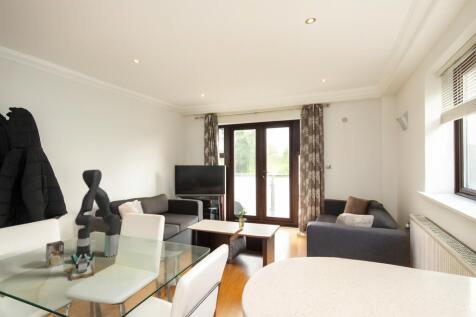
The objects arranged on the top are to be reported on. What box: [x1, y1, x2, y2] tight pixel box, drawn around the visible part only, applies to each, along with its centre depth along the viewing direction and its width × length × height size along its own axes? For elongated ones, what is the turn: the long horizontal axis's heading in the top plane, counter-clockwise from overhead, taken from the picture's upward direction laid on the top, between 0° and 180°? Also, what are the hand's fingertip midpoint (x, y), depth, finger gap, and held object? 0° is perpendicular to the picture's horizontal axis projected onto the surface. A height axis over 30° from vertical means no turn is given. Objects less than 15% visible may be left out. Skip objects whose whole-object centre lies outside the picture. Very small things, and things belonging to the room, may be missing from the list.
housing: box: [78, 258, 87, 273], centre depth 165 cm, size 5×8×6 cm, turn 37°
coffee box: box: [45, 240, 65, 269], centre depth 173 cm, size 9×6×16 cm
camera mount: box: [73, 248, 91, 261], centre depth 182 cm, size 12×8×10 cm, turn 55°
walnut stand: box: [69, 264, 95, 282], centre depth 165 cm, size 13×13×2 cm
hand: (82, 267), depth 165 cm, fingers open, 5 cm apart
